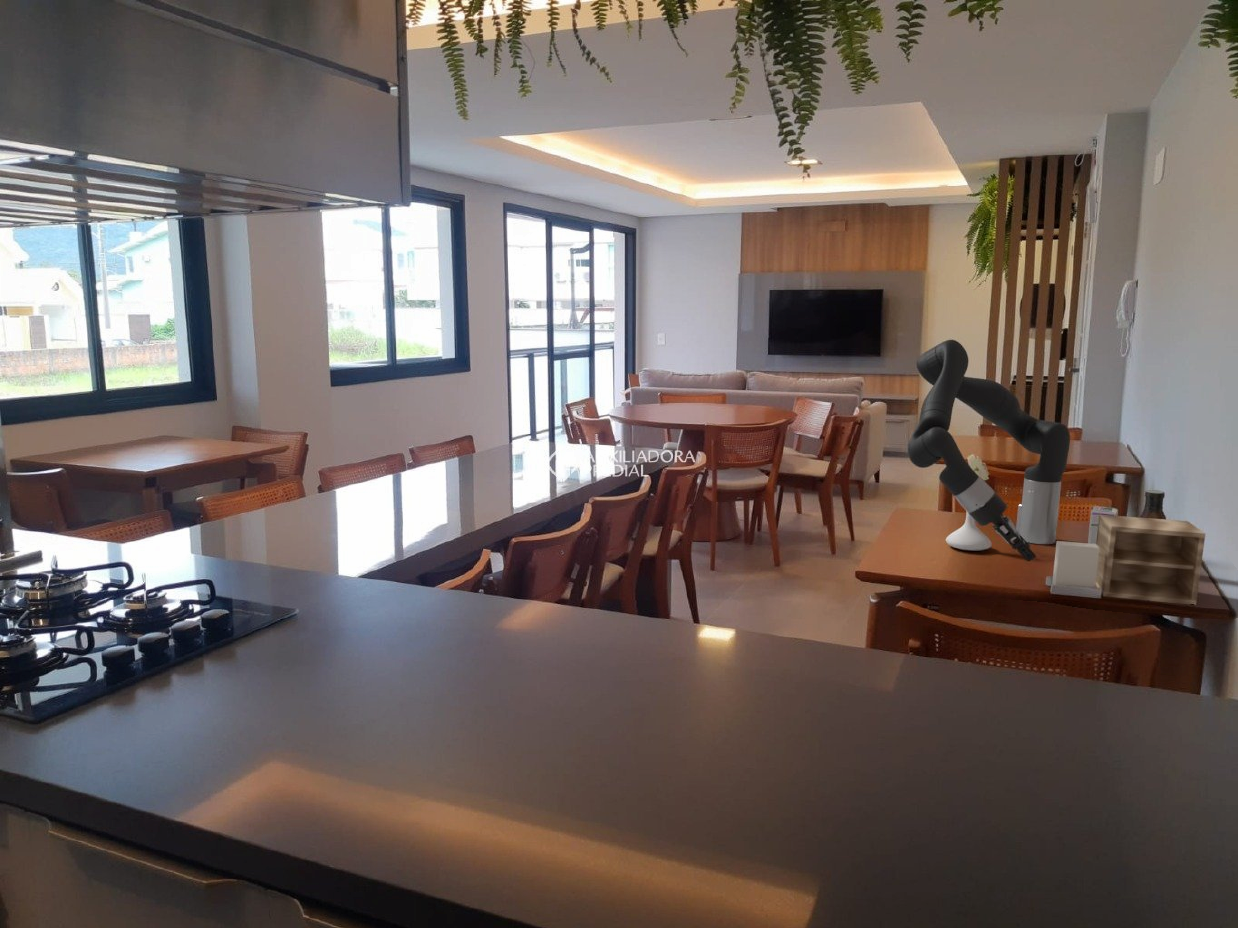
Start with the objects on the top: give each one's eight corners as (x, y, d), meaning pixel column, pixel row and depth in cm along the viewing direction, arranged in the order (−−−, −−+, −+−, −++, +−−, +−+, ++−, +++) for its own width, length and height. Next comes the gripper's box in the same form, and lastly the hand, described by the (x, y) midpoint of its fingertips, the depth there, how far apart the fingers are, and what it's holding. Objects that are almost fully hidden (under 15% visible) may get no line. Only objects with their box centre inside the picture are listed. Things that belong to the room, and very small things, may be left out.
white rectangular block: (1054, 591, 199) (1059, 544, 197) (1051, 587, 202) (1056, 540, 200) (1093, 595, 196) (1099, 547, 194) (1090, 591, 200) (1095, 544, 198)
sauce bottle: (1155, 567, 220) (1164, 489, 216) (1167, 574, 214) (1178, 494, 210) (1127, 565, 220) (1136, 488, 217) (1139, 573, 214) (1149, 493, 211)
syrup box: (1111, 569, 217) (1118, 512, 214) (1084, 565, 220) (1091, 509, 217) (1113, 564, 222) (1119, 508, 219) (1086, 560, 225) (1092, 505, 222)
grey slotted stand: (1051, 593, 197) (1051, 585, 197) (1045, 584, 204) (1046, 576, 204) (1100, 598, 194) (1101, 589, 194) (1093, 589, 201) (1094, 580, 201)
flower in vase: (995, 555, 228) (1003, 460, 224) (948, 552, 230) (956, 458, 226) (984, 542, 241) (993, 452, 236) (941, 540, 243) (948, 450, 239)
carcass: (1103, 596, 196) (1111, 526, 193) (1091, 580, 207) (1099, 514, 205) (1195, 605, 191) (1205, 533, 188) (1178, 588, 202) (1187, 521, 199)
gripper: (964, 504, 210) (1011, 556, 208) (969, 517, 196) (1020, 572, 195) (990, 484, 207) (1038, 536, 206) (997, 496, 194) (1048, 551, 192)
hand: (1029, 554), depth 200 cm, fingers open, 8 cm apart
